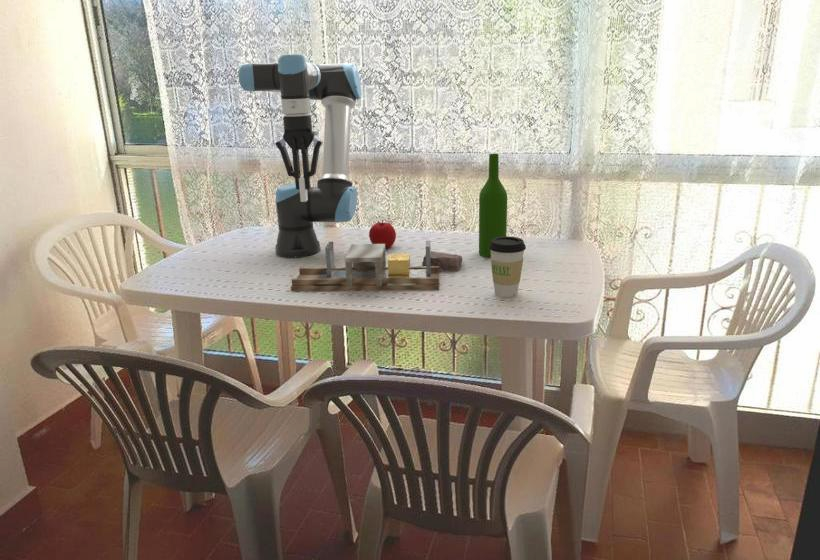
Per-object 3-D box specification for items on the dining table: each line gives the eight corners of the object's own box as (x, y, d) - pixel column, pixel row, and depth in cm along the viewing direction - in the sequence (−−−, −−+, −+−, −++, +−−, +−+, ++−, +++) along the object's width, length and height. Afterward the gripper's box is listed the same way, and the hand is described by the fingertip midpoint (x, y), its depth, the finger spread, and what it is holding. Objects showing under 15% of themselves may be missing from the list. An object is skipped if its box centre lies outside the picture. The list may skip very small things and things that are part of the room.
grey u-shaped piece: (327, 281, 181) (324, 248, 177) (331, 272, 188) (329, 241, 185) (430, 280, 179) (429, 247, 176) (431, 271, 186) (430, 239, 183)
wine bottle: (507, 250, 210) (509, 152, 199) (504, 258, 202) (507, 156, 191) (480, 249, 212) (481, 152, 201) (477, 257, 204) (477, 156, 193)
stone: (459, 272, 190) (458, 258, 189) (421, 271, 193) (420, 256, 192) (463, 263, 199) (463, 249, 197) (427, 262, 202) (426, 248, 200)
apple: (398, 243, 222) (397, 216, 218) (393, 251, 213) (392, 222, 210) (373, 243, 223) (371, 215, 220) (367, 250, 215) (365, 222, 212)
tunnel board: (291, 290, 179) (288, 258, 176) (301, 274, 192) (298, 244, 189) (438, 289, 176) (438, 256, 173) (439, 273, 190) (438, 242, 186)
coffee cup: (484, 288, 176) (485, 236, 171) (519, 286, 177) (520, 234, 172) (492, 300, 167) (492, 246, 162) (528, 298, 168) (530, 244, 163)
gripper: (269, 116, 167) (278, 204, 175) (318, 115, 166) (324, 203, 174) (276, 114, 174) (284, 198, 182) (323, 112, 173) (329, 197, 181)
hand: (304, 200), depth 178 cm, fingers closed
